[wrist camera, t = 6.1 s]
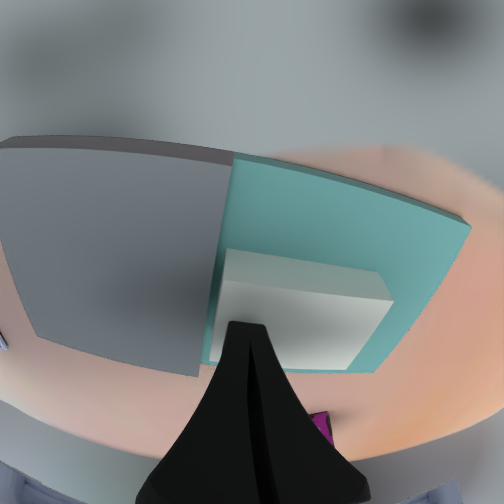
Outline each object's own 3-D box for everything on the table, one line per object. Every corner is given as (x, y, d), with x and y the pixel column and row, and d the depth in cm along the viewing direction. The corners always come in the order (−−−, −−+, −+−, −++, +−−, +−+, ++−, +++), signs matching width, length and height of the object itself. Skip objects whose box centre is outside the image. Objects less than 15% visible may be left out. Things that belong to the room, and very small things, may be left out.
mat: (201, 350, 16) (199, 363, 16) (234, 151, 10) (233, 158, 9) (369, 361, 18) (373, 372, 17) (461, 217, 12) (472, 227, 11)
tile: (212, 329, 14) (209, 361, 12) (226, 247, 11) (223, 280, 10) (337, 341, 15) (345, 369, 13) (378, 271, 12) (394, 301, 10)
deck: (48, 314, 15) (37, 336, 13) (12, 136, 9) (-15, 149, 7) (201, 350, 16) (198, 377, 15) (234, 151, 10) (232, 166, 8)
